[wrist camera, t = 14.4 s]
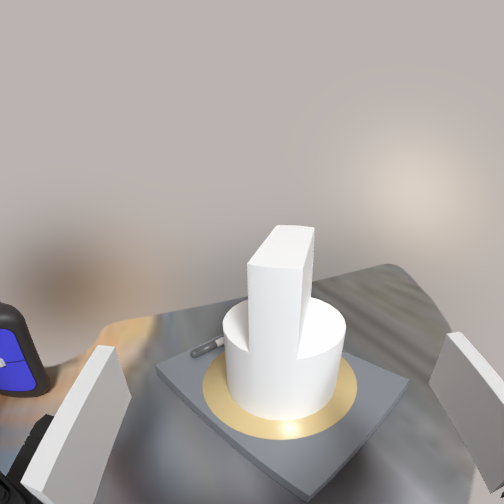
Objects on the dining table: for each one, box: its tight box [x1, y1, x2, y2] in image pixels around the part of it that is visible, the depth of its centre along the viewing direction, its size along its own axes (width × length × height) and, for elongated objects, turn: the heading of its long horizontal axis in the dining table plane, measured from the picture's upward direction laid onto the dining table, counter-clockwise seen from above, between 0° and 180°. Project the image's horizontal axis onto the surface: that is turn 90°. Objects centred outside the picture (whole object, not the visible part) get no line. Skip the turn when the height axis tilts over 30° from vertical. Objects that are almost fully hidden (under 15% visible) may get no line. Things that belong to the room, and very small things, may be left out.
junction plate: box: [155, 333, 409, 503], centre depth 25 cm, size 18×14×2 cm
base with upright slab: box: [223, 225, 346, 421], centre depth 22 cm, size 9×9×12 cm
